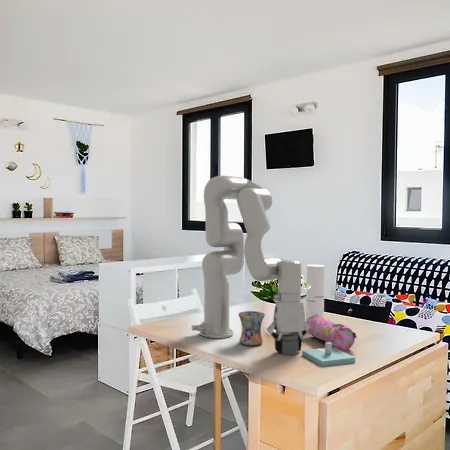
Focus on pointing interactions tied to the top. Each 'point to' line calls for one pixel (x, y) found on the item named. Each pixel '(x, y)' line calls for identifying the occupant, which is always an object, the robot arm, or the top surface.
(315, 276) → the cylindrical container
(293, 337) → the knob
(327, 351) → the teal peg base
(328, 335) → the pencil case
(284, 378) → the top surface
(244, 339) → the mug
